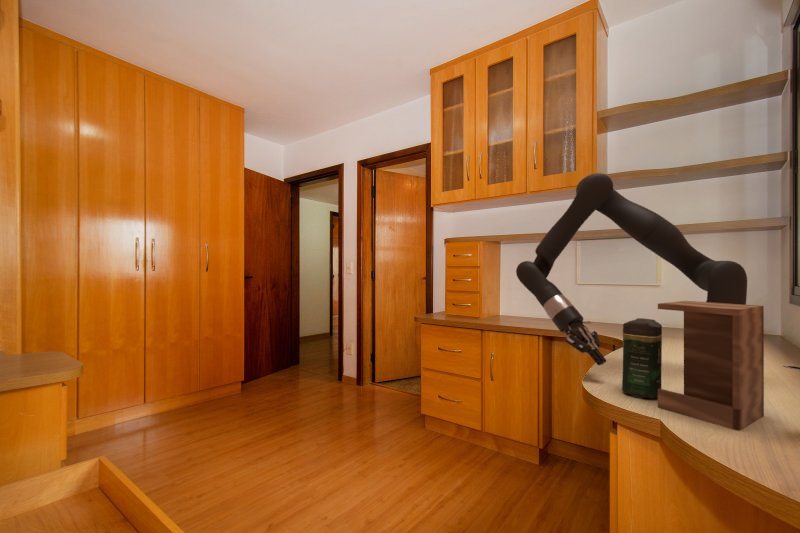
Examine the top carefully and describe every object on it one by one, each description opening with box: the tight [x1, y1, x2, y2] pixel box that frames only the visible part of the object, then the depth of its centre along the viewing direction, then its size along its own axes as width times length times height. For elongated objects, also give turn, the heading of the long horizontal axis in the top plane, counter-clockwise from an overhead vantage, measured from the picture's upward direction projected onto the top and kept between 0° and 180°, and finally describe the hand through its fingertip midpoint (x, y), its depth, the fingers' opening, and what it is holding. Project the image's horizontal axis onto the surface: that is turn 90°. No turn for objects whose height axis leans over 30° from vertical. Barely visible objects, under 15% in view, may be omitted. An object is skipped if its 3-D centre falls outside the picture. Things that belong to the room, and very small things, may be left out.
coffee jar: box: [621, 317, 663, 399], centre depth 92 cm, size 10×8×19 cm
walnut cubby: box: [657, 300, 765, 431], centre depth 81 cm, size 14×14×23 cm
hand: (602, 363), depth 100 cm, fingers closed
